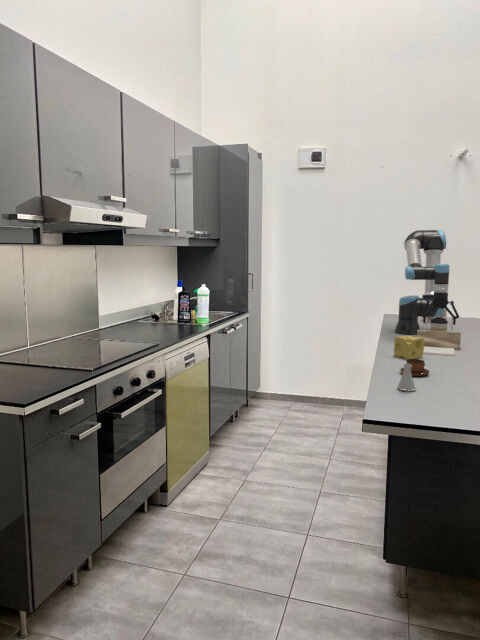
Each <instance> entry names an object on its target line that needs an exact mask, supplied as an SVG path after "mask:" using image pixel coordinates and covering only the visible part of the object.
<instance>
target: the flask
mask: <svg viewBox="0 0 480 640" xmlns="http://www.w3.org/2000/svg"><path fill="white" fill-rule="evenodd" d="M402 366H403V368H404V371H403V373H402V376H401V377H400V380H399V383H398V385H397V387H398V388H399V389H406V390H412V389H416V386H415V382H414V379H413V376H412V375H411V367H412V365H411V364H407V363H403V365H402Z"/></svg>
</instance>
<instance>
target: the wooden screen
mask: <svg viewBox="0 0 480 640" xmlns="http://www.w3.org/2000/svg"><path fill="white" fill-rule="evenodd" d="M461 336H462V331H447V332H446V331H431V330H425V329H423V330H422V329H420V330H417V334H416V337H419V338H424V346H426V347H441V348H454V351H460V350H461Z"/></svg>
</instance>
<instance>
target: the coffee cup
mask: <svg viewBox="0 0 480 640" xmlns="http://www.w3.org/2000/svg"><path fill="white" fill-rule="evenodd" d="M448 323H449V321H448V320H447V318H446V319H444V318H440V317H436V318H433V319H432V320H431V323H430V331H446V332H448Z"/></svg>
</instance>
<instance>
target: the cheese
mask: <svg viewBox="0 0 480 640" xmlns="http://www.w3.org/2000/svg"><path fill="white" fill-rule="evenodd" d="M393 347H394V348H393V352H394V354H393V355H394V357H398V358H403V359H405V360H408V359H422V358H423V356H424V354H423V351H424V338H419V337H417V336H412V335H403V336H395V337H394V346H393Z"/></svg>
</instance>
